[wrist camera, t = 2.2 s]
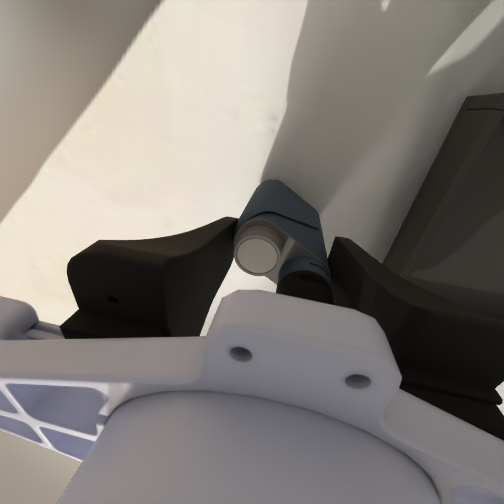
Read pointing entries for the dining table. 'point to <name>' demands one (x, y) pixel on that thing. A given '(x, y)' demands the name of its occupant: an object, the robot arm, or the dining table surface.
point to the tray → (460, 214)
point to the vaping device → (283, 243)
